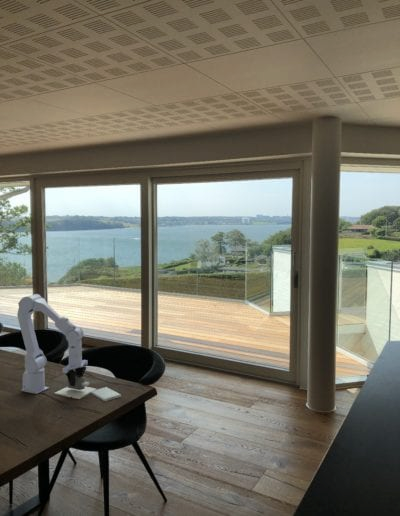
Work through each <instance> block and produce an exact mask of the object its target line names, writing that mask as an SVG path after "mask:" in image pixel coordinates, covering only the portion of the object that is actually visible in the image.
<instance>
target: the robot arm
mask: <svg viewBox="0 0 400 516" xmlns="http://www.w3.org/2000/svg"><path fill="white" fill-rule="evenodd" d="M17 304H18V309H17V320H18V324H19V328H20V331H21V335H22V340H23V344H24V347H25V350H26V351H25V352H26V354H25V356H24V369H25V371H24V372H23V374H22V389H21V392H25V393H30V394H35V395H37V394H39V393H42V392H44V391H46V390H48V389H50V387H49V386H45V384H46V383H45V380H46V379H45V366H46V365H47V363H48V360H47V357H46V356H45V354H44V351H43V350H42V349H41V348H40V347H39V343H38V340H37V335H36V332H35V331H36V330H35V328H34V323H33V320H32V315H33V314H34V313H35V312H41V313H42V314H44V315H45V316H47V317H48V318H49V319H50V320H52V321H53V323H54V326H55V328H56V329H58V330H59V331H60V332H61V333H62V334H63V335H64V336H65V339H66V341H67V342H68V364H67V365H66V366H65V367H63V368H62V373H63V374H65V375H66V378H67V377H68V380H69V383H70V386H75V377H76V375H80V376H84V374H85V372H86V370H87V365H88V362H89V361H88V359H87V360H86V359H83V353H82V352H83V350H82V348H83V347H82V346H83V343H82V338H83V337H84V330H83V329H82V327H80V326H76V325H74V324H73V323H72V322H71V321H70V319H69V317H66V316H60V315H59V313H58V312H57V311H56V310H54V308H53V307H51V305H49V304H48V302H47V301H46V299H45V298H44V297H42V296H41V294H39V293H33V294H32V295H28V296H23V297H22V298H21V299H20V300H19V302H18V303H17Z"/></svg>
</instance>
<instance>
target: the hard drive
mask: <svg viewBox="0 0 400 516" xmlns="http://www.w3.org/2000/svg"><path fill="white" fill-rule="evenodd" d="M90 394H91V395H93V396H95V397H96V398H98V399H99V400H102V401H103V402H108V401H111V400H115V399H117V398H121V397H122V394H120V393H118V392H117V391H115V390H113V389H111V388H109V387H107V386H105V387H101V388H97V390H94V391H91V393H90Z"/></svg>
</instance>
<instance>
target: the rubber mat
mask: <svg viewBox="0 0 400 516" xmlns="http://www.w3.org/2000/svg"><path fill="white" fill-rule="evenodd" d="M94 390H98V388H94V387H90V386H85V389H82V390H77V389H72V388H68V387H67V386H65V387H64V388H62V389H59V390H58V391H56V392H55V391H54V394H55V395H58V396H62V397H67V398H71V397H72V399H77V400H80V399H83V398H84V397H86V396H88V395H89V394H91V391H94Z"/></svg>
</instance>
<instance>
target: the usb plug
mask: <svg viewBox="0 0 400 516" xmlns="http://www.w3.org/2000/svg"><path fill="white" fill-rule="evenodd" d="M85 378H86V377H85V376H84V375H83V376H80V375H76V377H75V386H70V383H69V380H68V377H67V376H66V382H67V383H66V384H67V386H66V387H68V388H72V389H77V390H82V389H85V387H88V386H89V385H90V382H89V381H86V379H85Z"/></svg>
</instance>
